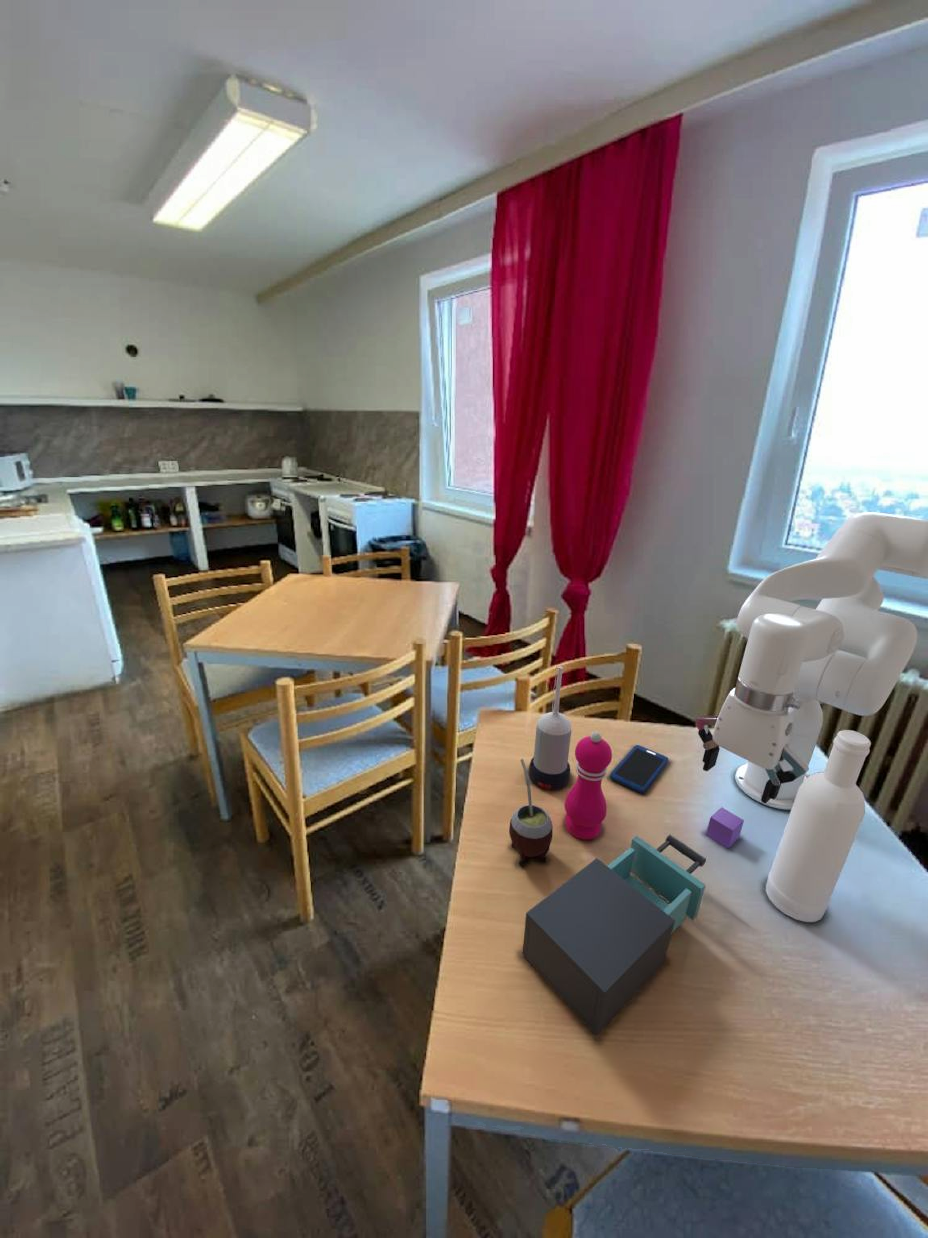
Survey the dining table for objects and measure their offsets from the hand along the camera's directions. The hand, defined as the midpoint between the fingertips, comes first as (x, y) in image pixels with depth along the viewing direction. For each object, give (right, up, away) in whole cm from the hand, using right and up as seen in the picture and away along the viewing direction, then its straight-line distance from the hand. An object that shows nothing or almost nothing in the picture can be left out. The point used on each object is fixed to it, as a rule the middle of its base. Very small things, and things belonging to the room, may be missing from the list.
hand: (736, 782), depth 86 cm
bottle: (+5, -16, -7) cm, 18 cm away
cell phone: (-9, -4, +21) cm, 23 cm away
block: (0, -11, +5) cm, 12 cm away
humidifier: (-28, -5, +18) cm, 34 cm away
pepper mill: (-24, -10, +6) cm, 27 cm away
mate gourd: (-35, -12, +1) cm, 37 cm away
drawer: (-18, -15, -9) cm, 25 cm away
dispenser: (-28, -19, -16) cm, 37 cm away
